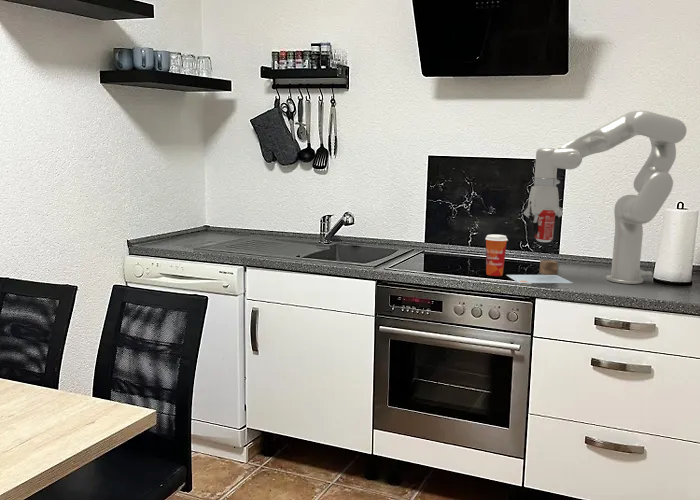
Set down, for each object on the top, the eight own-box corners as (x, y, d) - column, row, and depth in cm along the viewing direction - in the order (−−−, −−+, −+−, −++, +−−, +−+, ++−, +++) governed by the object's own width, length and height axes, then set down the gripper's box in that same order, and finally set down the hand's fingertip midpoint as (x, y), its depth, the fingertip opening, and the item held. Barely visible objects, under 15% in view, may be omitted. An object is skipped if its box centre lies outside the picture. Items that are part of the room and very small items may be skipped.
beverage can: (539, 238, 257) (541, 206, 254) (555, 241, 253) (558, 208, 250) (531, 241, 252) (534, 208, 249) (548, 243, 248) (551, 210, 246)
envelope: (556, 275, 263) (556, 275, 263) (573, 283, 248) (573, 283, 248) (505, 275, 261) (505, 274, 261) (519, 283, 246) (519, 282, 246)
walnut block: (551, 273, 269) (552, 260, 268) (557, 275, 264) (558, 262, 263) (539, 273, 268) (540, 260, 268) (544, 275, 263) (545, 262, 263)
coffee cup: (479, 275, 260) (481, 235, 257) (488, 272, 267) (490, 233, 264) (501, 278, 255) (503, 237, 253) (509, 275, 262) (511, 235, 260)
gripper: (563, 182, 254) (560, 232, 256) (518, 182, 252) (515, 232, 255) (572, 184, 246) (568, 235, 249) (525, 183, 244) (522, 234, 247)
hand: (542, 233), depth 252 cm, fingers closed on beverage can, 4 cm apart
